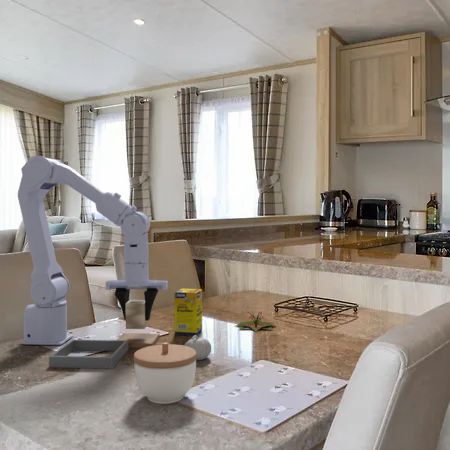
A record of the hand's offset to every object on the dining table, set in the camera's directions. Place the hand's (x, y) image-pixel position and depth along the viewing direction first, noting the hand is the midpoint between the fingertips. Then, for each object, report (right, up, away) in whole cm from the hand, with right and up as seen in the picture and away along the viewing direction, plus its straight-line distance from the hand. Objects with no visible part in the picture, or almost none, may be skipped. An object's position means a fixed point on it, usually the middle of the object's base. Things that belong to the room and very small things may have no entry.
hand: (137, 319), depth 123 cm
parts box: (0, -2, 0) cm, 2 cm away
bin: (-8, -6, -12) cm, 16 cm away
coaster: (0, -6, 0) cm, 6 cm away
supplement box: (+12, -5, +10) cm, 16 cm away
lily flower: (+29, -6, +16) cm, 34 cm away
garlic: (+15, -6, -13) cm, 21 cm away
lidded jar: (+11, -7, -34) cm, 37 cm away
